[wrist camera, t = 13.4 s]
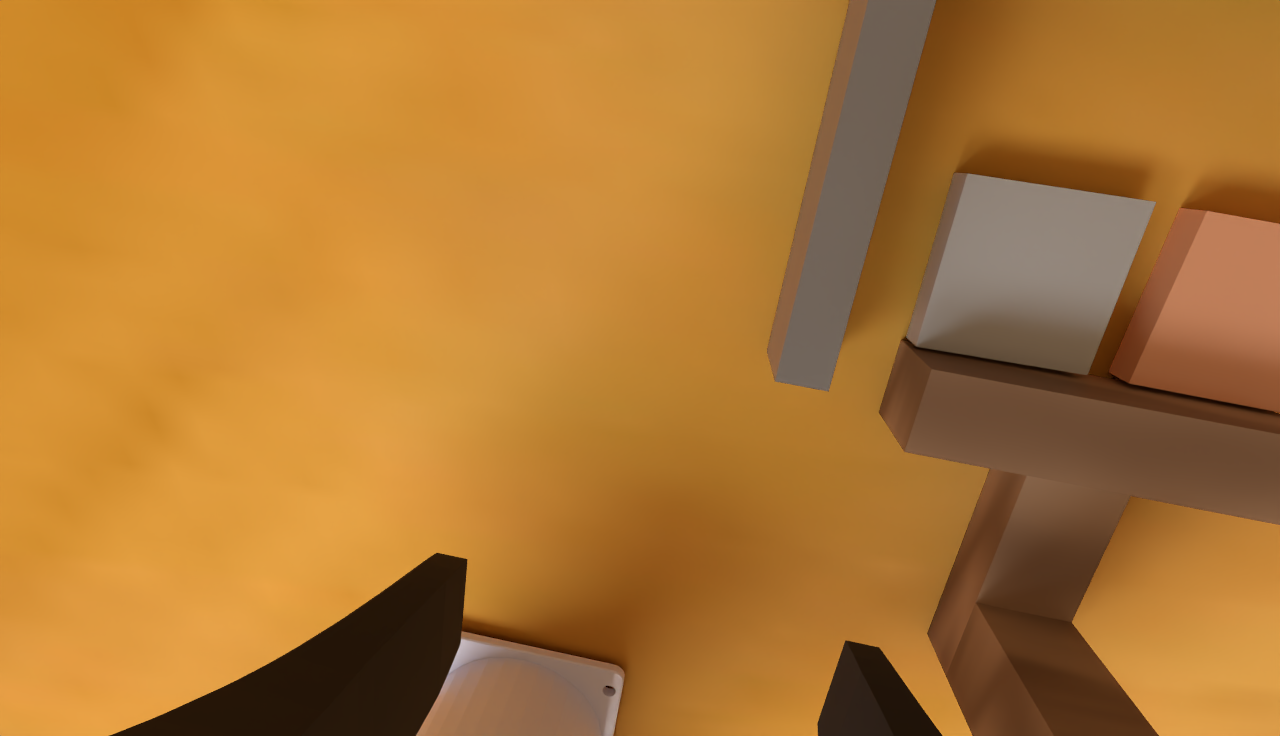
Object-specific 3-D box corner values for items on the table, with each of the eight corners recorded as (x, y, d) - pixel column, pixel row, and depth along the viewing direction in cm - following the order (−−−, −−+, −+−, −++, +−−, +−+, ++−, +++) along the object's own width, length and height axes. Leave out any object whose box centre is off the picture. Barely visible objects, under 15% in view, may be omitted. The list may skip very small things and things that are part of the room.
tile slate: (1061, 360, 20) (1087, 375, 19) (901, 333, 20) (915, 346, 19) (1122, 198, 19) (1155, 202, 17) (948, 172, 19) (967, 173, 17)
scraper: (1124, 675, 23) (1366, 980, 14) (817, 610, 23) (875, 867, 15) (1263, 407, 19) (1689, 597, 11) (901, 340, 20) (1037, 471, 12)
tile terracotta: (1263, 398, 20) (1304, 417, 18) (1099, 367, 20) (1128, 383, 19) (1348, 238, 18) (1401, 245, 17) (1169, 206, 18) (1207, 210, 17)
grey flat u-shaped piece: (1381, 465, 20) (1494, 517, 17) (766, 350, 21) (775, 381, 18) (1712, -84, 15) (1948, -142, 12) (895, -195, 16) (934, -271, 13)
